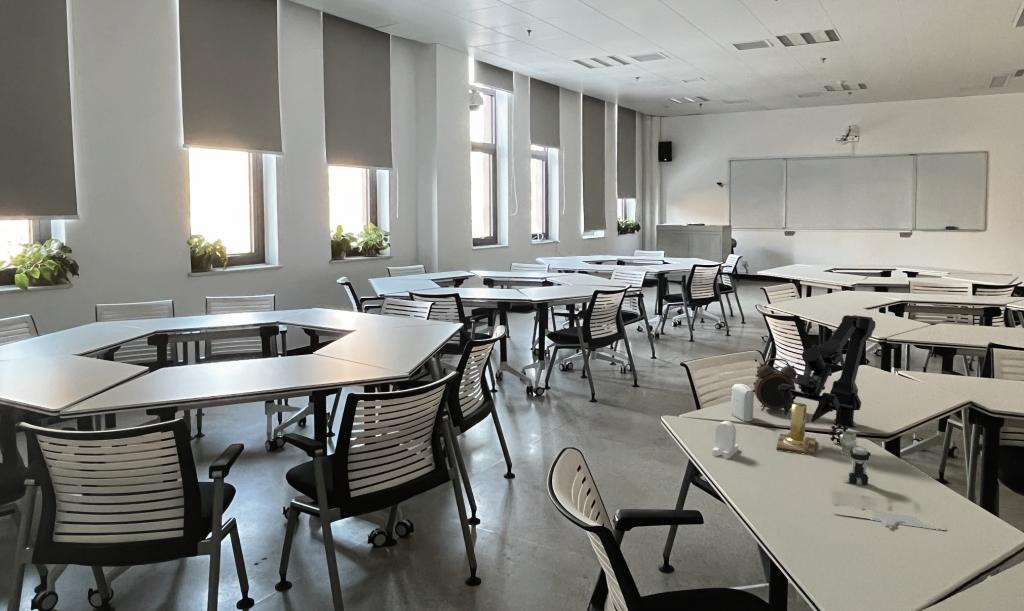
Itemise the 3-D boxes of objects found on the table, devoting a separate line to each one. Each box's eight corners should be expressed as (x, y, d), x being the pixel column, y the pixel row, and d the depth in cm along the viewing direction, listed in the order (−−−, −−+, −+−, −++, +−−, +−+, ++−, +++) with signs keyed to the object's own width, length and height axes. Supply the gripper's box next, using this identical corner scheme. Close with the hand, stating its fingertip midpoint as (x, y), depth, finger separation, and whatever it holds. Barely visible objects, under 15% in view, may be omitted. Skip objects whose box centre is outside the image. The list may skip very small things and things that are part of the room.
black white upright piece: (844, 485, 198) (847, 451, 197) (840, 478, 204) (842, 444, 202) (870, 487, 197) (873, 453, 195) (865, 480, 202) (868, 446, 200)
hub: (812, 445, 226) (814, 408, 224) (789, 445, 226) (792, 408, 224) (800, 436, 235) (803, 399, 233) (779, 436, 235) (781, 399, 233)
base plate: (780, 436, 238) (780, 422, 238) (815, 441, 234) (816, 426, 233) (776, 450, 226) (777, 435, 225) (813, 455, 221) (814, 440, 220)
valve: (861, 456, 221) (848, 443, 232) (863, 436, 220) (850, 423, 231) (839, 455, 221) (827, 442, 233) (840, 435, 220) (828, 423, 232)
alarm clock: (755, 412, 265) (758, 360, 262) (752, 406, 272) (755, 355, 269) (796, 414, 262) (799, 361, 259) (792, 408, 269) (795, 357, 266)
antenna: (834, 523, 177) (835, 518, 176) (829, 489, 198) (829, 485, 198) (950, 540, 168) (950, 535, 168) (931, 503, 189) (931, 498, 189)
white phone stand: (711, 455, 221) (712, 424, 220) (722, 446, 229) (723, 416, 228) (728, 459, 218) (729, 427, 217) (738, 449, 226) (739, 419, 225)
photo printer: (728, 413, 263) (730, 381, 261) (739, 413, 264) (741, 380, 262) (743, 422, 253) (745, 388, 251) (754, 421, 254) (756, 388, 252)
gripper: (782, 359, 236) (763, 398, 231) (838, 370, 222) (819, 411, 217) (792, 378, 242) (774, 416, 237) (847, 389, 228) (829, 430, 223)
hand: (798, 418), depth 228 cm, fingers open, 9 cm apart
